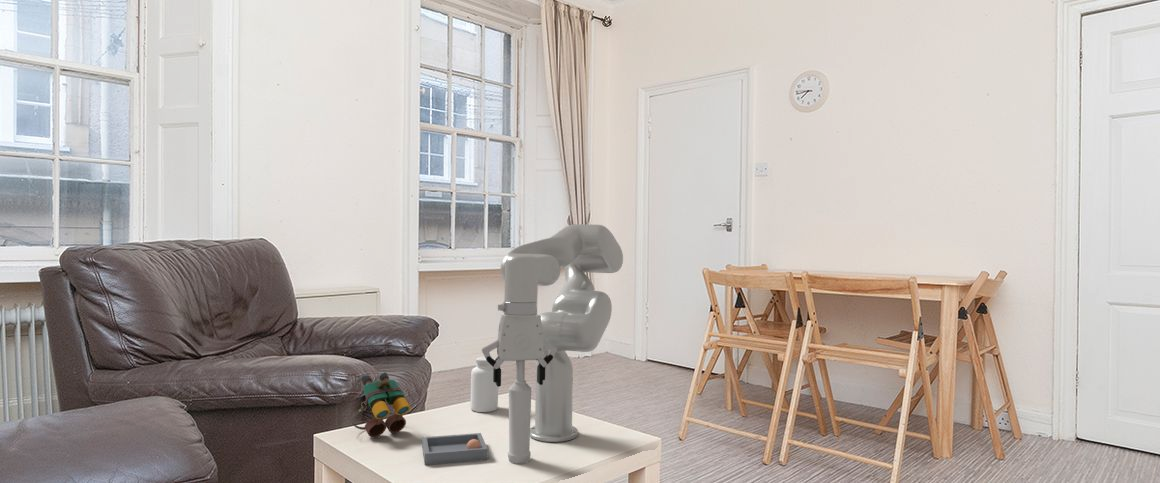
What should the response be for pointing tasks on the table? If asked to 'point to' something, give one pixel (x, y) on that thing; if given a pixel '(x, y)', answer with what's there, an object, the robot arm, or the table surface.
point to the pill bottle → (483, 387)
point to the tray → (452, 449)
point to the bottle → (519, 417)
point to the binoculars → (383, 405)
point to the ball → (473, 444)
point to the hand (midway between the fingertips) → (519, 384)
